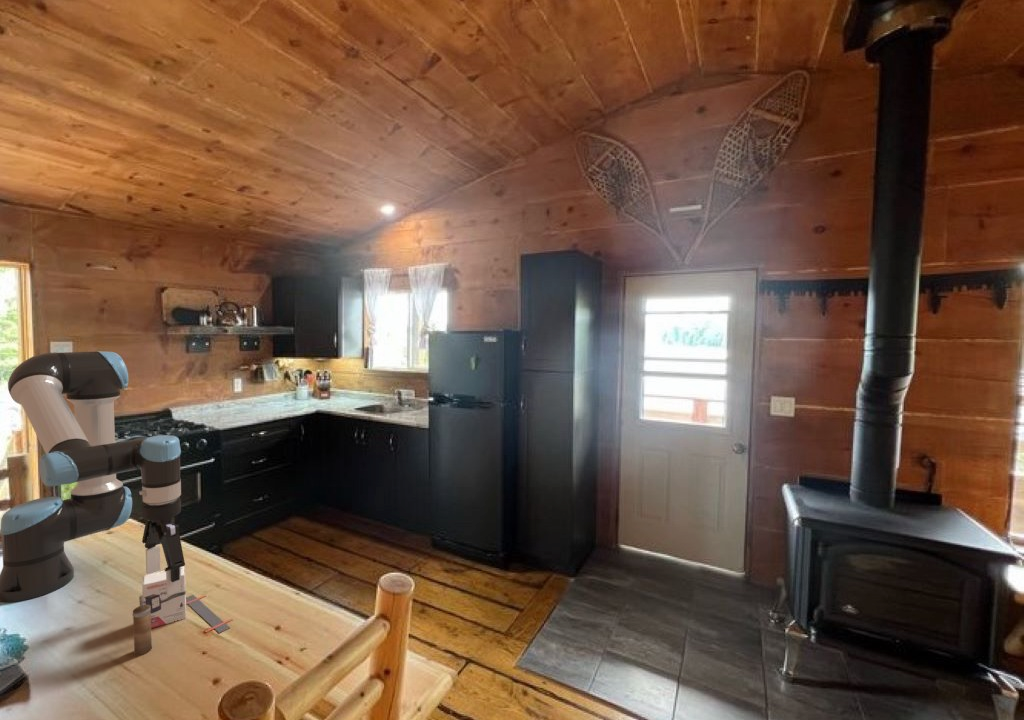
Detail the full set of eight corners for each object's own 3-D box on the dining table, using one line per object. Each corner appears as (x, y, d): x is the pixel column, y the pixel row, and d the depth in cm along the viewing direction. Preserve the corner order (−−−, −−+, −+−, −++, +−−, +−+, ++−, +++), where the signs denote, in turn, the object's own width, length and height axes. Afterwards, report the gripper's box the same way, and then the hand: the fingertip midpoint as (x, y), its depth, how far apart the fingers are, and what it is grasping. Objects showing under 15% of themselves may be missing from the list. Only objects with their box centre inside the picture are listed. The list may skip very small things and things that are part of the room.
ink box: (142, 631, 109) (141, 584, 108) (143, 620, 113) (142, 575, 112) (186, 618, 114) (185, 573, 113) (186, 608, 118) (185, 564, 117)
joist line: (174, 602, 120) (174, 602, 120) (200, 592, 125) (200, 591, 125) (210, 637, 108) (210, 636, 108) (237, 624, 112) (237, 623, 112)
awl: (132, 651, 102) (130, 596, 101) (149, 644, 105) (147, 590, 104) (136, 658, 100) (135, 601, 99) (153, 650, 103) (152, 595, 102)
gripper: (125, 490, 115) (127, 570, 117) (162, 519, 101) (163, 609, 103) (161, 482, 121) (162, 558, 123) (200, 509, 107) (201, 594, 109)
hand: (163, 581), depth 113 cm, fingers open, 13 cm apart
